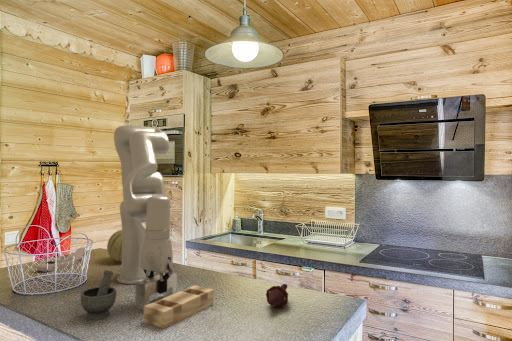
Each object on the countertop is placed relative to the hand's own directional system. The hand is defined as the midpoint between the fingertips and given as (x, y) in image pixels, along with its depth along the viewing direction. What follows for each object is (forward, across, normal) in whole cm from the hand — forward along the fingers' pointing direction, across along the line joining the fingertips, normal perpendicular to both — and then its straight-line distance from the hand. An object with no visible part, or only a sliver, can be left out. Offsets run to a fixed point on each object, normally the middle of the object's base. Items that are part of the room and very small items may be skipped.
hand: (157, 290), depth 120 cm
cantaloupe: (+4, -50, +29) cm, 58 cm away
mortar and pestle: (+4, -7, -16) cm, 18 cm away
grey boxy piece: (+4, 0, 0) cm, 4 cm away
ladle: (+4, -65, +9) cm, 66 cm away
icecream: (+4, +35, +18) cm, 39 cm away
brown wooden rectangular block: (+4, +12, -2) cm, 13 cm away
